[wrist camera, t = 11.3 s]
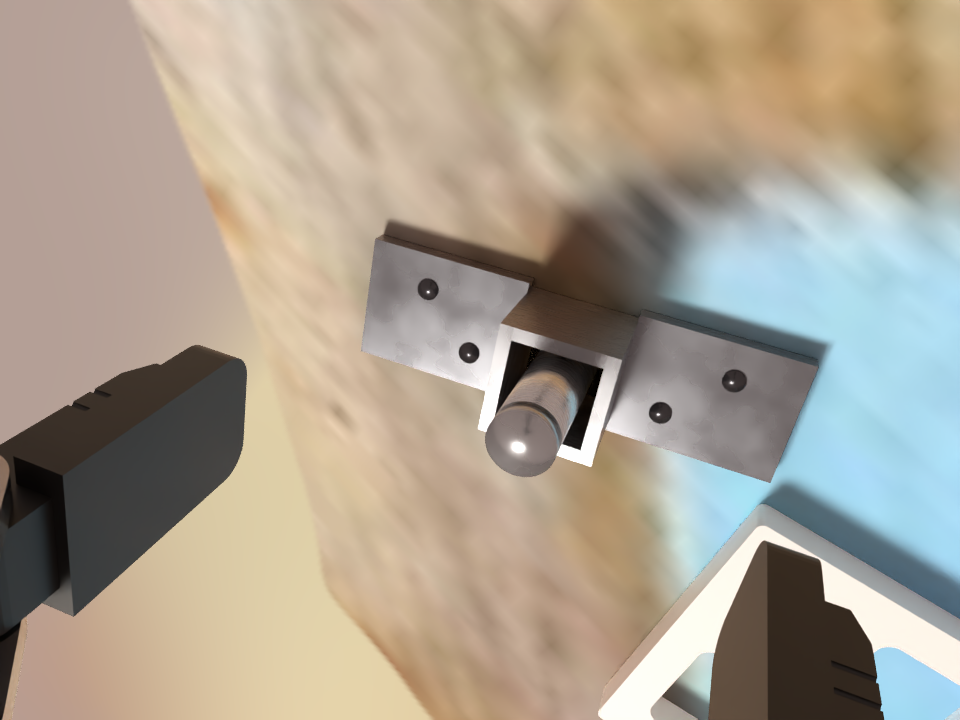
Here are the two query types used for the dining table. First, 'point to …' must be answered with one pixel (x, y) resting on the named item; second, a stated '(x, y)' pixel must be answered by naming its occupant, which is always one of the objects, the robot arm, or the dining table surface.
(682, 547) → the dining table surface
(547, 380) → the pin
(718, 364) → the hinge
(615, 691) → the holder
